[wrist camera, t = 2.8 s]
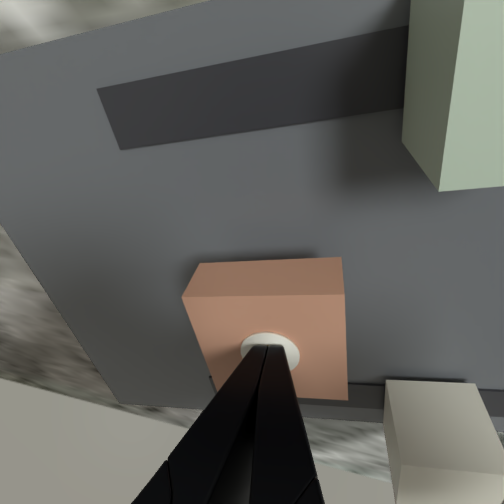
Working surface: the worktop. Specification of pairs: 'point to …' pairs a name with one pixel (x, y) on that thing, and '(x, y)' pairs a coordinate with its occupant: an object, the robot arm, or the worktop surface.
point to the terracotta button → (274, 318)
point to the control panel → (246, 193)
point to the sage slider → (456, 92)
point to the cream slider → (441, 444)
